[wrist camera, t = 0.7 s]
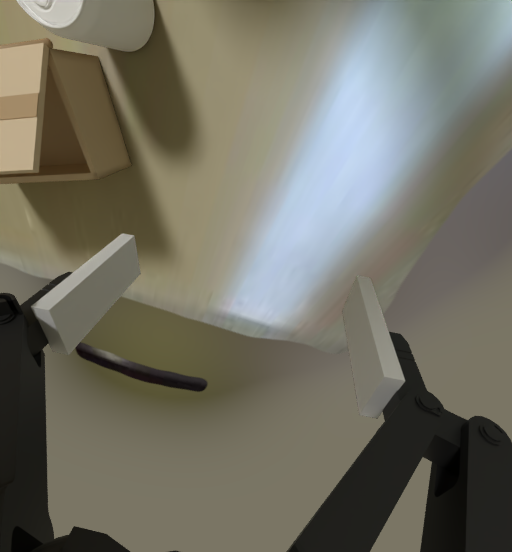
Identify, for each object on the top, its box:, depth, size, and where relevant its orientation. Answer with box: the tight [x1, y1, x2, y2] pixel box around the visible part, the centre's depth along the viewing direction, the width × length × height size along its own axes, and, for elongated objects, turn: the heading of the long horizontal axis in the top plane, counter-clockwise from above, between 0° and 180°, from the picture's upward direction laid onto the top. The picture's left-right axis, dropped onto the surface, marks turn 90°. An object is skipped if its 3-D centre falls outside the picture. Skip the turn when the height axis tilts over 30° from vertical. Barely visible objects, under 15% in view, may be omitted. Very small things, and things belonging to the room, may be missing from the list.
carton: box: [0, 48, 132, 184], centre depth 36 cm, size 13×22×8 cm, turn 94°
